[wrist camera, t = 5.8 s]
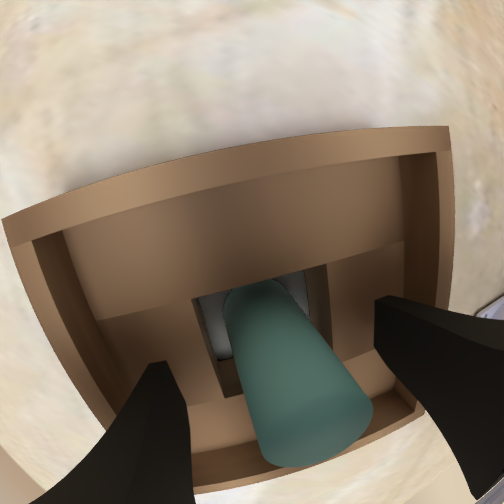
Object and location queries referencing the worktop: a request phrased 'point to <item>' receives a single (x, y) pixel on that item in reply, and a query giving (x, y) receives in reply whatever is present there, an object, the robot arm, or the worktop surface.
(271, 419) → the peg
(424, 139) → the peg box
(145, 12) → the worktop surface
